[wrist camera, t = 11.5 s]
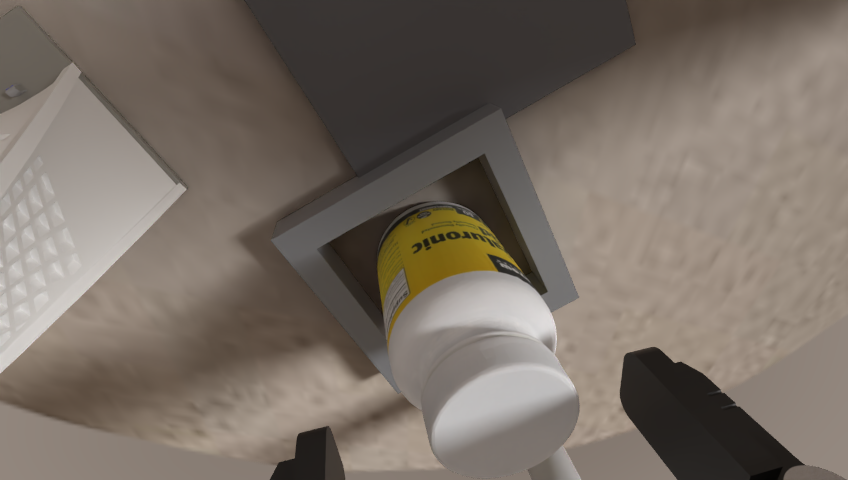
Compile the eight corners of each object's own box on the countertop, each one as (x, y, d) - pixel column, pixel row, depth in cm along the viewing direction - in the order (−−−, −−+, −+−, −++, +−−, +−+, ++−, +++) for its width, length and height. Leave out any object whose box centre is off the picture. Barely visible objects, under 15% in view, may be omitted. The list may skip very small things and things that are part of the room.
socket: (485, 101, 16) (782, 234, 5) (590, 345, 23) (813, 624, 12) (277, 221, 17) (154, 563, 6) (438, 423, 24) (520, 755, 13)
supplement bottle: (507, 212, 19) (646, 360, 10) (467, 309, 21) (554, 502, 12) (393, 183, 17) (442, 329, 9) (361, 291, 19) (375, 497, 11)
